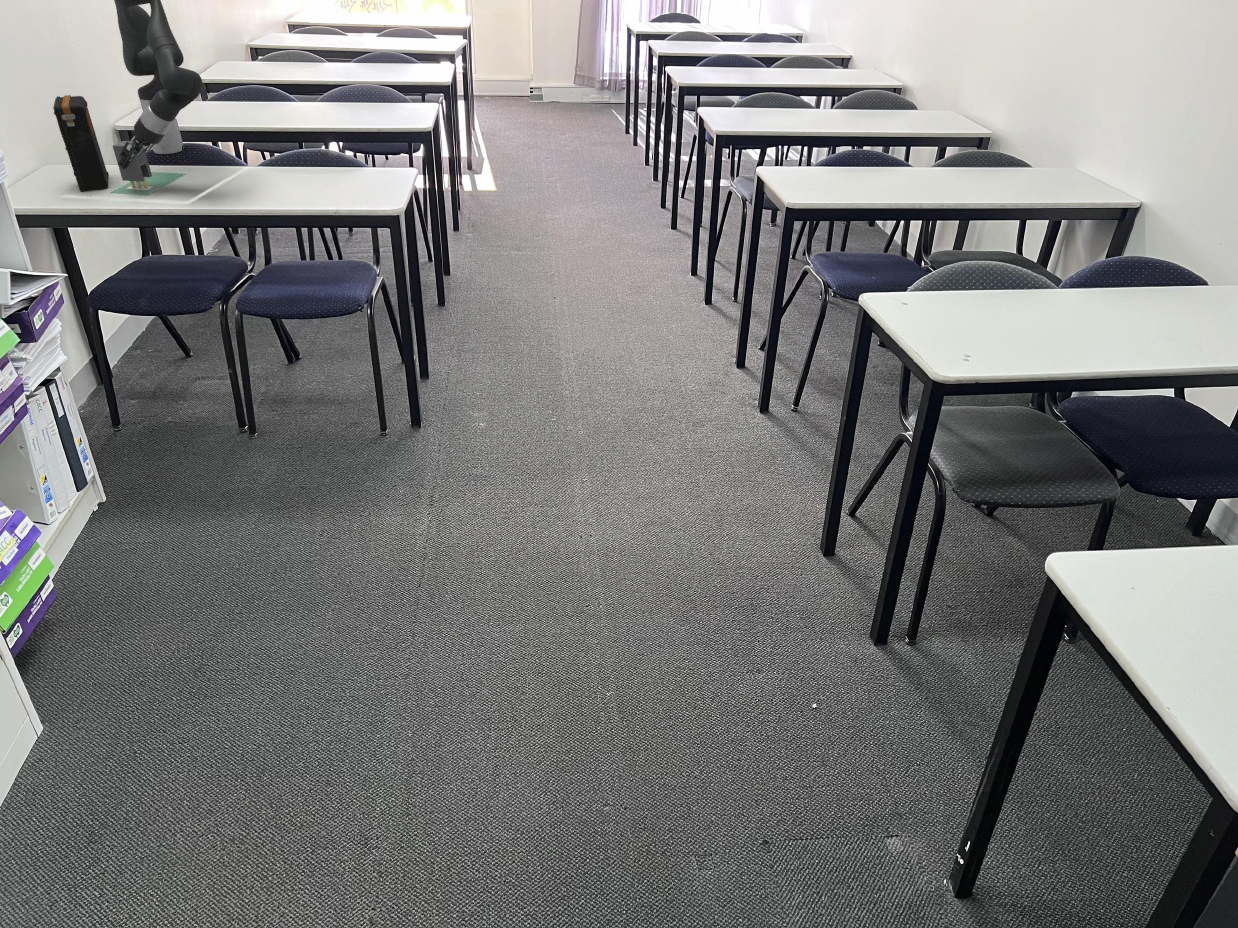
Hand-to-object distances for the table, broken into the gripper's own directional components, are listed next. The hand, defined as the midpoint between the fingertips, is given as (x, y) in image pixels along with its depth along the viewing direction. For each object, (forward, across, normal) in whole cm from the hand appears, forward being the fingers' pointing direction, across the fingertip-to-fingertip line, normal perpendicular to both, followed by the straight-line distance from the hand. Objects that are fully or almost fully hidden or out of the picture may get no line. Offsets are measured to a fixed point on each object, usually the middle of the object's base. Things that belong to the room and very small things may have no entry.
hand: (127, 163), depth 264 cm
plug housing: (+2, 0, +4) cm, 5 cm away
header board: (+4, -5, +7) cm, 10 cm away
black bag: (+16, -2, -4) cm, 16 cm away
